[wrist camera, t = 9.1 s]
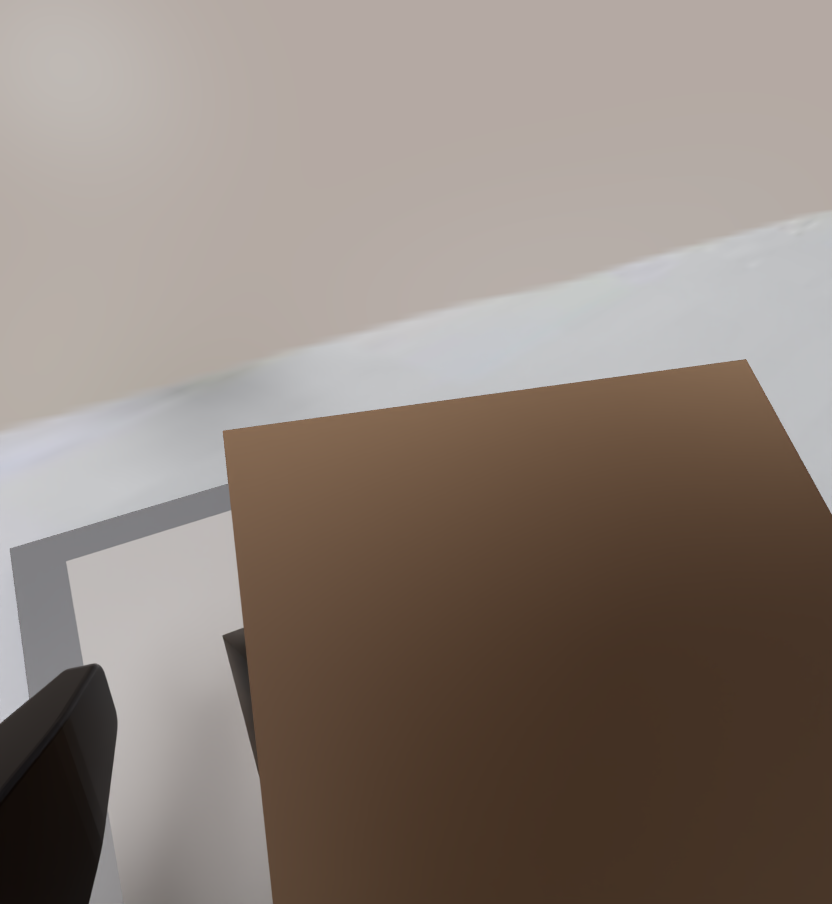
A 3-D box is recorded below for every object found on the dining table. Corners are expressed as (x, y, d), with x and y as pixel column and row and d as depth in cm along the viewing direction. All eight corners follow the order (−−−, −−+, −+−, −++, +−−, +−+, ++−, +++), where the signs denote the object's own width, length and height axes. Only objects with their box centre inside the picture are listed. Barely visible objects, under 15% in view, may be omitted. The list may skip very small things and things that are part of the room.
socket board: (801, 928, 15) (996, 1002, 11) (142, 1372, 11) (8, 1810, 6) (523, 408, 21) (574, 317, 17) (26, 559, 17) (-84, 490, 12)
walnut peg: (493, 801, 15) (1095, 994, 3) (330, 848, 14) (319, 1361, 2) (452, 636, 16) (746, 359, 5) (304, 669, 15) (222, 430, 4)
